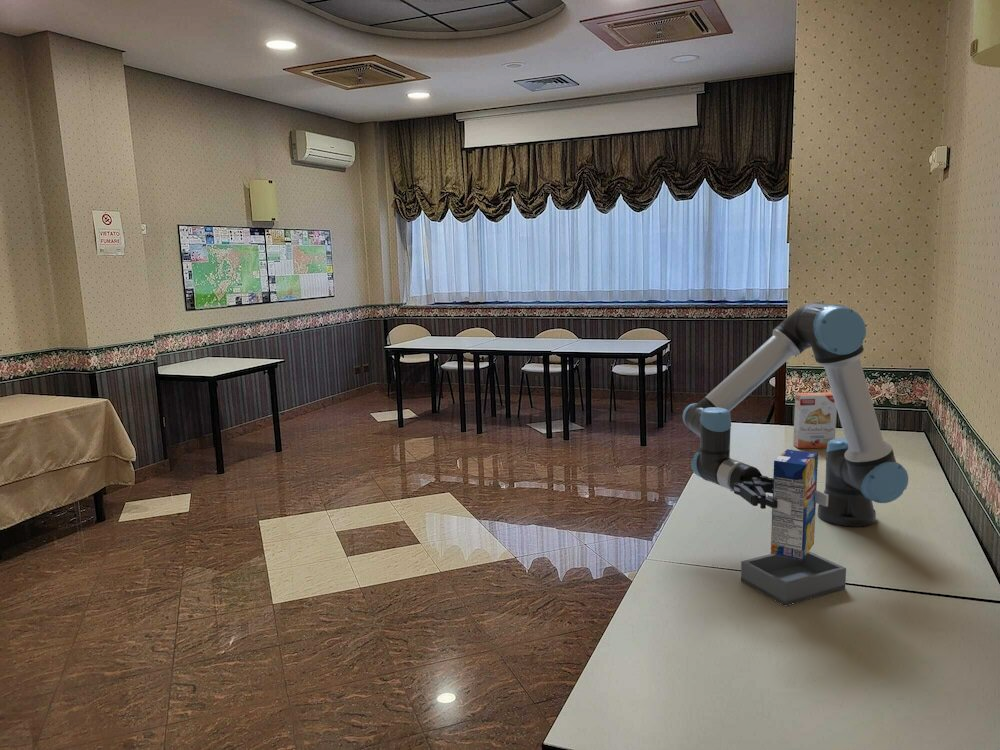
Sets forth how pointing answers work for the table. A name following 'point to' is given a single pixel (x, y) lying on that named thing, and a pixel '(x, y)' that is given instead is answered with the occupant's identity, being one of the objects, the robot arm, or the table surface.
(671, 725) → the table surface
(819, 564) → the tray
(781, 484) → the beverage box
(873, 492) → the robot arm
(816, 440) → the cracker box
